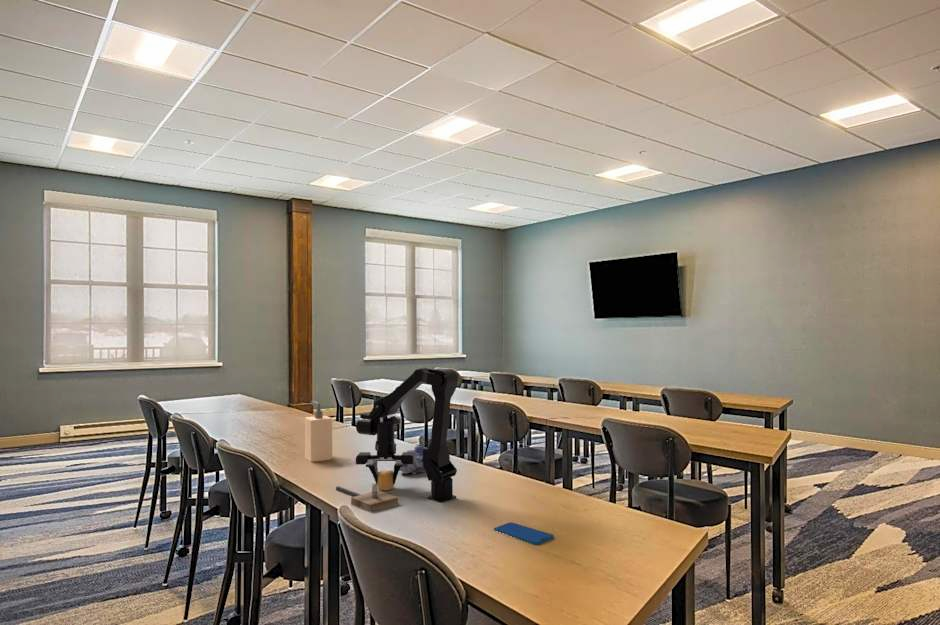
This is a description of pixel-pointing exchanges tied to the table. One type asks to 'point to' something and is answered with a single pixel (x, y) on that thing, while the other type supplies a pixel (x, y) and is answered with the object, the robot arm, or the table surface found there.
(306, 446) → the soap dispenser
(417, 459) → the mineral
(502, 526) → the smartphone
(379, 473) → the orange domed octagonal post
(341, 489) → the bar
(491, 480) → the table surface
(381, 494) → the peg block
